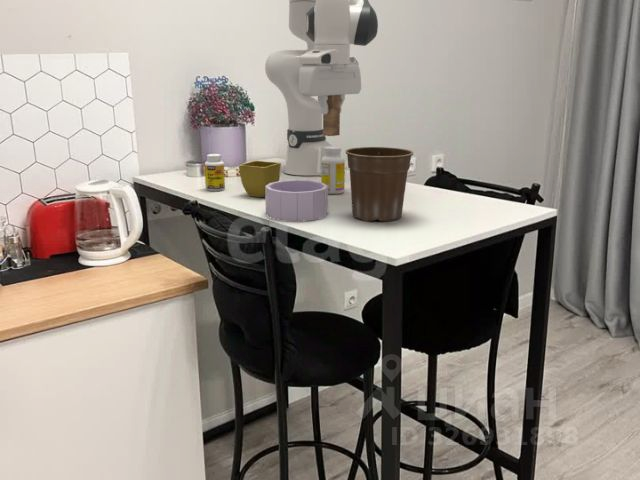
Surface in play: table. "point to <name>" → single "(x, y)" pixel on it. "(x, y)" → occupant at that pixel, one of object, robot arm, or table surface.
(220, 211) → the table surface
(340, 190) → the supplement bottle
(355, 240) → the table surface
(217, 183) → the supplement bottle
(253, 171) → the flower pot
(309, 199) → the lilac round bowl
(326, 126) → the brown wooden block
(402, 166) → the plant pot
